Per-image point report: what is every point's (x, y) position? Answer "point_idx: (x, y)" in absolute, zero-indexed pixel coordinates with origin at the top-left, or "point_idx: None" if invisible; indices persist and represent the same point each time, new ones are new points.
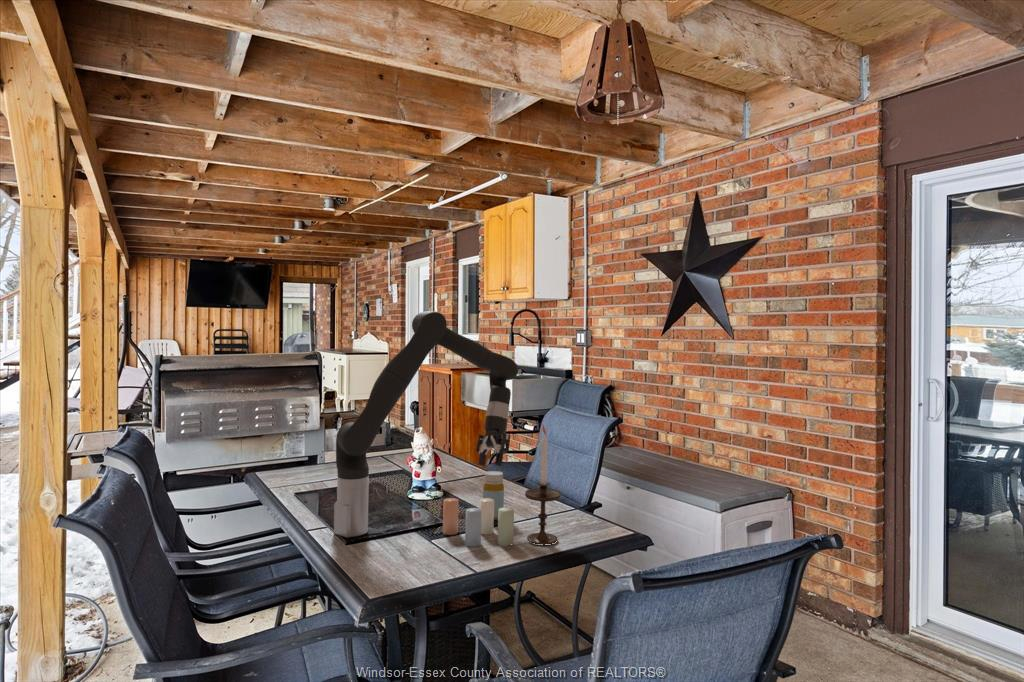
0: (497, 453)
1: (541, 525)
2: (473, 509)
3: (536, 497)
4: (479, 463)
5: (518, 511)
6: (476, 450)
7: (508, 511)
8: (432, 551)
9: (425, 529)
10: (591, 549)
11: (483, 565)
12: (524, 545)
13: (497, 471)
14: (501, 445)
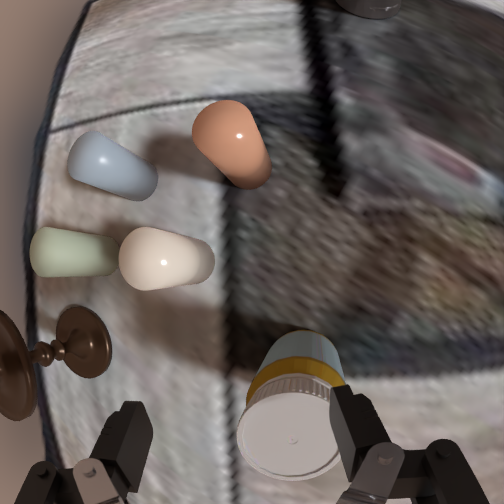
0: (102, 458)
1: (53, 340)
2: (90, 157)
3: None
4: (337, 389)
5: None
6: (441, 445)
7: (33, 248)
8: (159, 85)
9: (311, 119)
10: None
11: (57, 153)
12: (79, 287)
13: (313, 473)
14: (41, 499)
